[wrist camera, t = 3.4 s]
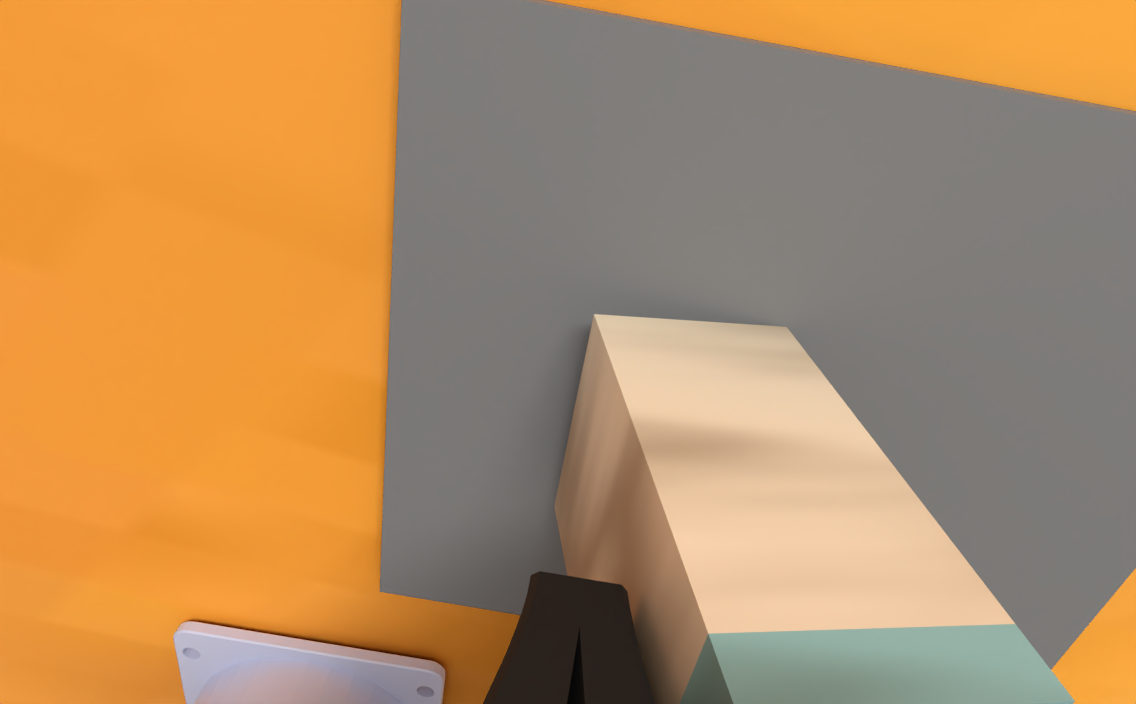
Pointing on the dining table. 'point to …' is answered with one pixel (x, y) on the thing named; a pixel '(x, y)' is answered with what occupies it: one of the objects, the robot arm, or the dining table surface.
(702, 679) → the maple block
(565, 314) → the rubber mat
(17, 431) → the dining table surface
